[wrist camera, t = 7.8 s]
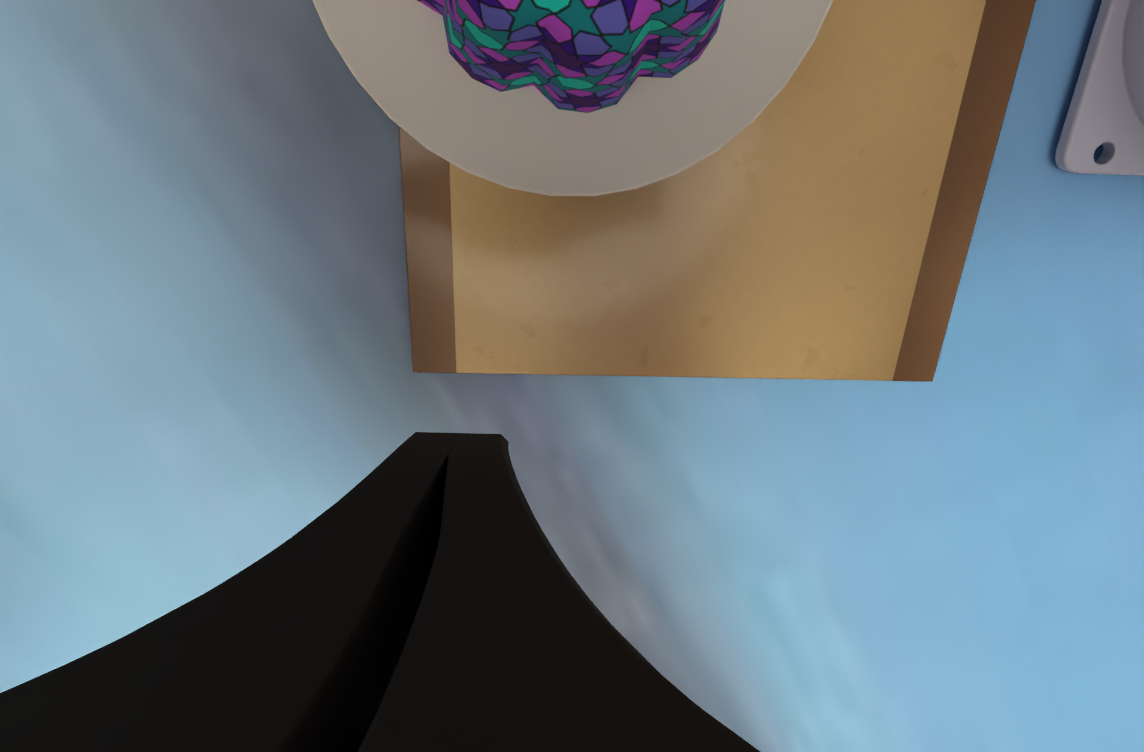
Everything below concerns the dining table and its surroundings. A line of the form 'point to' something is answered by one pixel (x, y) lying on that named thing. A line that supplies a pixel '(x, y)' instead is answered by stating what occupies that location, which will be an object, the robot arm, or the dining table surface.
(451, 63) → the pudding
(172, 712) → the robot arm
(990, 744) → the dining table surface
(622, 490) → the dining table surface
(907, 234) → the placemat
